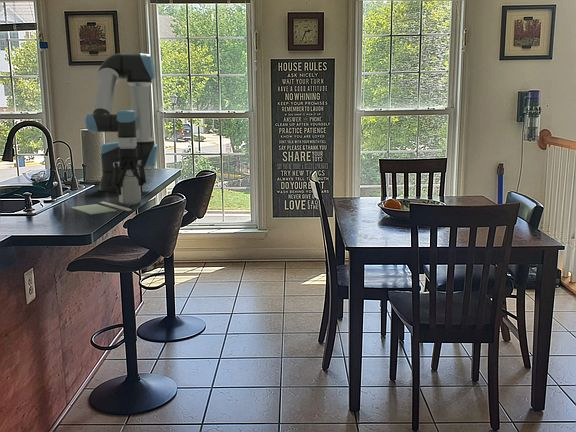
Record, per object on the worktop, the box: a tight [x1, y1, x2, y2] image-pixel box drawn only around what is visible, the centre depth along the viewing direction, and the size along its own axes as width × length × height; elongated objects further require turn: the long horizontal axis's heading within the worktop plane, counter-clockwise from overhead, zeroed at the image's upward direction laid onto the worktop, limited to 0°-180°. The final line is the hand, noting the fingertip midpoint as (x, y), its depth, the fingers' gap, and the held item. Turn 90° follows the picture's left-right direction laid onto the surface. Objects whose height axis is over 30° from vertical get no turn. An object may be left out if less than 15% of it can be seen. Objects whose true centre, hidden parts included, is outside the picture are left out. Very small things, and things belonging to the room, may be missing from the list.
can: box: [121, 175, 140, 206], centre depth 255 cm, size 8×8×12 cm
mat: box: [70, 203, 118, 215], centre depth 243 cm, size 11×18×1 cm, turn 43°
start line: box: [99, 201, 133, 212], centre depth 249 cm, size 2×24×1 cm, turn 43°
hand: (130, 201), depth 256 cm, fingers closed on can, 7 cm apart
